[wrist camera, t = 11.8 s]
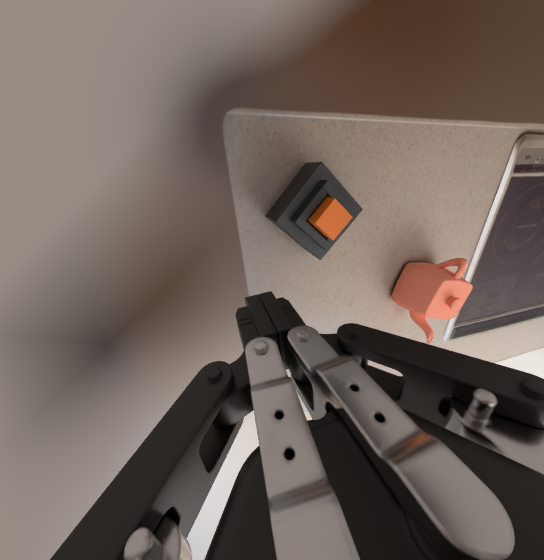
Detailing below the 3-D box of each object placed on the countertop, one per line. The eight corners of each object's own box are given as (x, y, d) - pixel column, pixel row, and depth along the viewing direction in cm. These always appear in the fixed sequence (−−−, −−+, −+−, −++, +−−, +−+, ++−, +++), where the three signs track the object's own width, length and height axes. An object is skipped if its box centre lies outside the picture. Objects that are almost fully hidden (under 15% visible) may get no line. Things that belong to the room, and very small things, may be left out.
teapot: (447, 251, 52) (500, 268, 43) (411, 320, 58) (450, 347, 49) (410, 242, 48) (460, 259, 39) (375, 317, 54) (412, 346, 45)
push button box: (265, 216, 37) (279, 224, 31) (305, 162, 36) (328, 161, 30) (307, 250, 42) (326, 264, 36) (344, 205, 40) (370, 211, 34)
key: (307, 220, 32) (314, 223, 30) (326, 196, 32) (335, 197, 30) (325, 236, 34) (333, 240, 32) (343, 214, 34) (353, 217, 32)
